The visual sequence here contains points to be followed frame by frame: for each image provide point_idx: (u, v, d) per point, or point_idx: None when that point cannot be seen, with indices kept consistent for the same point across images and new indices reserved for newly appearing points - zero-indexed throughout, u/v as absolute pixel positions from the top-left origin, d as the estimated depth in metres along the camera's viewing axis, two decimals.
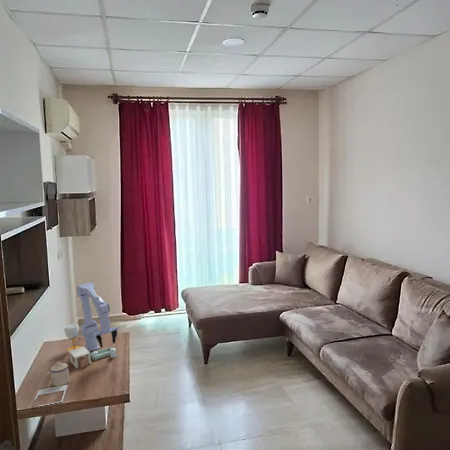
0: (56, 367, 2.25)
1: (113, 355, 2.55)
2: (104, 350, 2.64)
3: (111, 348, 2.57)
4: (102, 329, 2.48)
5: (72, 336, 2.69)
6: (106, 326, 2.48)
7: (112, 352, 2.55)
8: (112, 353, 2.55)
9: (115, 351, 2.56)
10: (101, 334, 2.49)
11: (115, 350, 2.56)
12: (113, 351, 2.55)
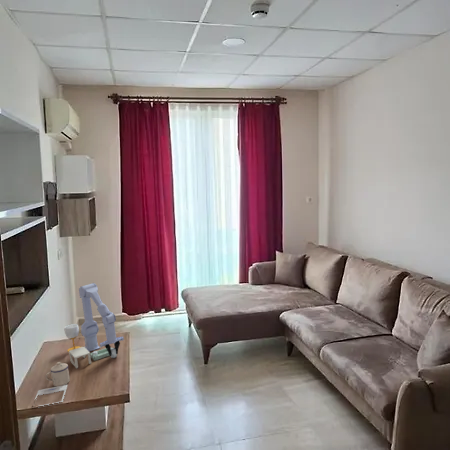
0: (56, 367, 2.25)
1: (113, 355, 2.55)
2: (104, 350, 2.64)
3: (111, 348, 2.57)
4: (108, 339, 2.53)
5: (72, 336, 2.69)
6: (112, 336, 2.53)
7: (112, 352, 2.55)
8: (112, 353, 2.55)
9: (115, 351, 2.56)
10: (107, 344, 2.54)
11: (115, 350, 2.56)
12: (113, 351, 2.55)
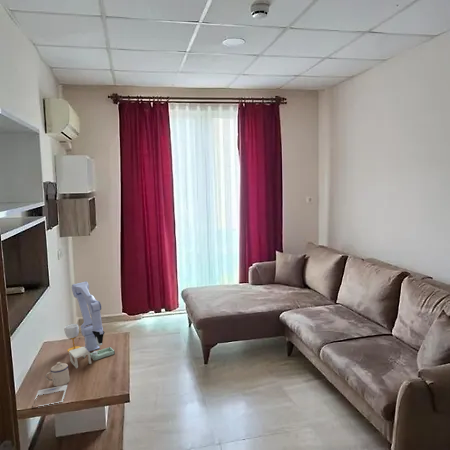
0: (56, 367, 2.25)
1: (96, 342, 2.58)
2: (104, 350, 2.64)
3: None
4: None
5: (72, 336, 2.69)
6: (92, 324, 2.56)
7: None
8: None
9: (97, 340, 2.57)
10: None
11: (97, 339, 2.57)
12: (96, 339, 2.58)
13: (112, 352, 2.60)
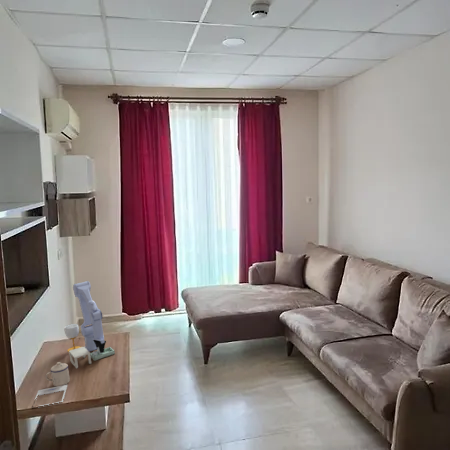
0: (56, 367, 2.25)
1: None
2: (104, 350, 2.64)
3: None
4: None
5: (72, 336, 2.69)
6: (93, 333, 2.56)
7: None
8: None
9: (98, 350, 2.58)
10: None
11: (98, 349, 2.58)
12: (97, 349, 2.58)
13: (112, 352, 2.60)
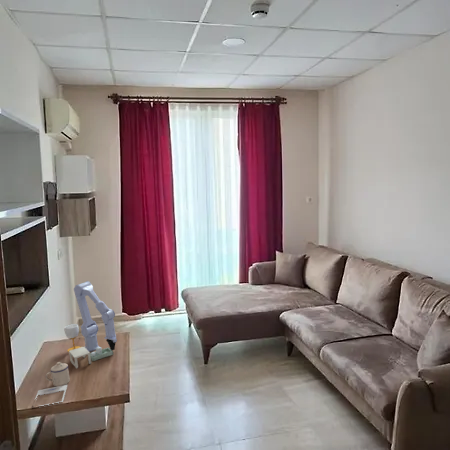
0: (56, 367, 2.25)
1: (96, 353, 2.59)
2: (102, 351, 2.64)
3: (100, 347, 2.60)
4: None
5: (72, 336, 2.69)
6: (106, 332, 2.61)
7: None
8: None
9: (97, 351, 2.57)
10: None
11: (97, 350, 2.57)
12: None
13: (110, 353, 2.59)
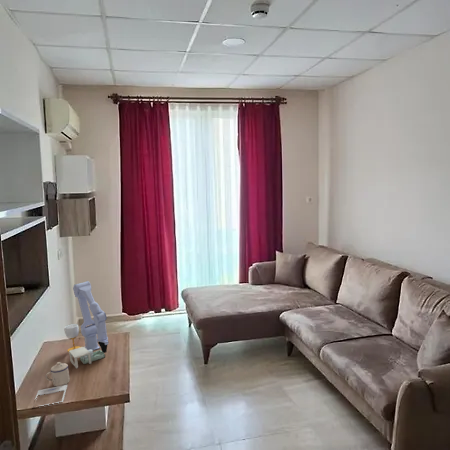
0: (56, 367, 2.25)
1: None
2: (94, 353, 2.61)
3: None
4: None
5: (72, 336, 2.69)
6: (97, 334, 2.58)
7: None
8: None
9: None
10: None
11: None
12: None
13: (102, 355, 2.56)
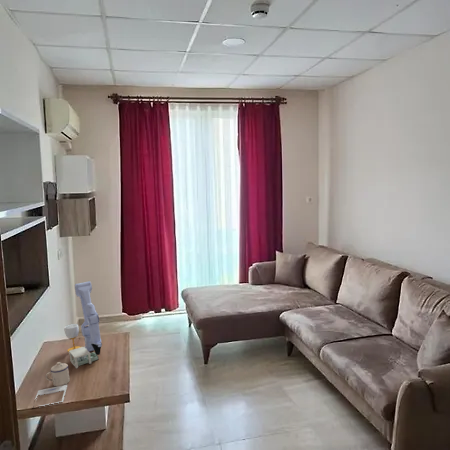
0: (56, 367, 2.25)
1: None
2: None
3: None
4: None
5: (72, 336, 2.69)
6: (91, 336, 2.55)
7: None
8: None
9: None
10: None
11: None
12: None
13: (95, 357, 2.54)
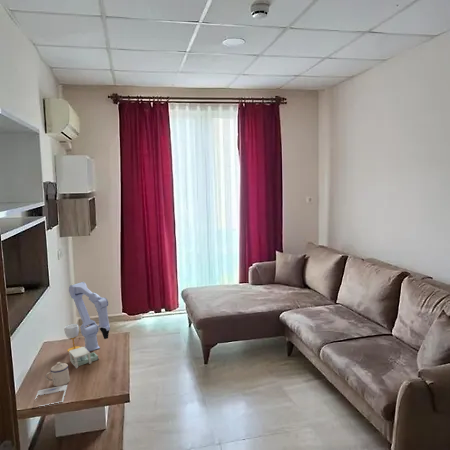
0: (56, 367, 2.25)
1: None
2: None
3: None
4: None
5: (72, 336, 2.69)
6: (99, 320, 2.58)
7: None
8: None
9: (82, 356, 2.52)
10: None
11: None
12: None
13: (95, 357, 2.54)
